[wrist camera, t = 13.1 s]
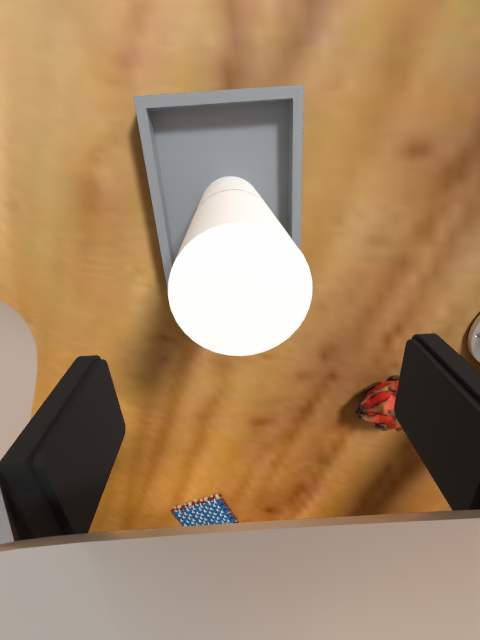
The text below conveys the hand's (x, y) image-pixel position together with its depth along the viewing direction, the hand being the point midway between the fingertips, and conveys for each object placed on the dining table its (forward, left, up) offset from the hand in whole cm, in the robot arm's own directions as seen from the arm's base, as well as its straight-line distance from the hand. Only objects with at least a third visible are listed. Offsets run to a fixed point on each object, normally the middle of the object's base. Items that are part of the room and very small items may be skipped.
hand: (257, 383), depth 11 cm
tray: (+1, 0, -33) cm, 33 cm away
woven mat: (+10, +58, -34) cm, 67 cm away
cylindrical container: (0, 0, -32) cm, 32 cm away
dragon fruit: (-22, +30, -33) cm, 50 cm away
